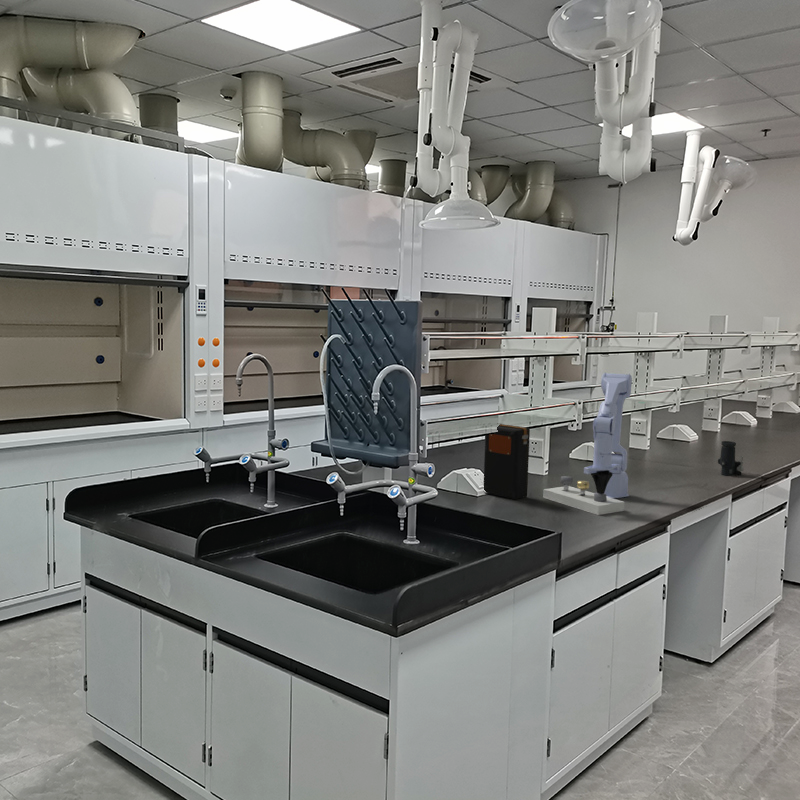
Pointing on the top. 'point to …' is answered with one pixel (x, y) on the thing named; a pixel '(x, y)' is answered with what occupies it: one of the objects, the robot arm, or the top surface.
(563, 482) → the knob
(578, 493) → the mount plate
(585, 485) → the pot knob
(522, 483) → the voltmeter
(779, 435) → the top surface
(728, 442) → the scope
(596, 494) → the knob
